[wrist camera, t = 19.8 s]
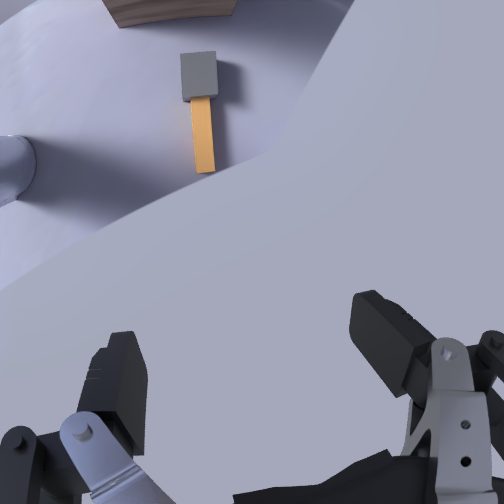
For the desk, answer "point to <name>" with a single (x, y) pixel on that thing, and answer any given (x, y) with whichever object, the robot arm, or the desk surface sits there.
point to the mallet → (200, 102)
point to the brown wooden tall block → (165, 10)
